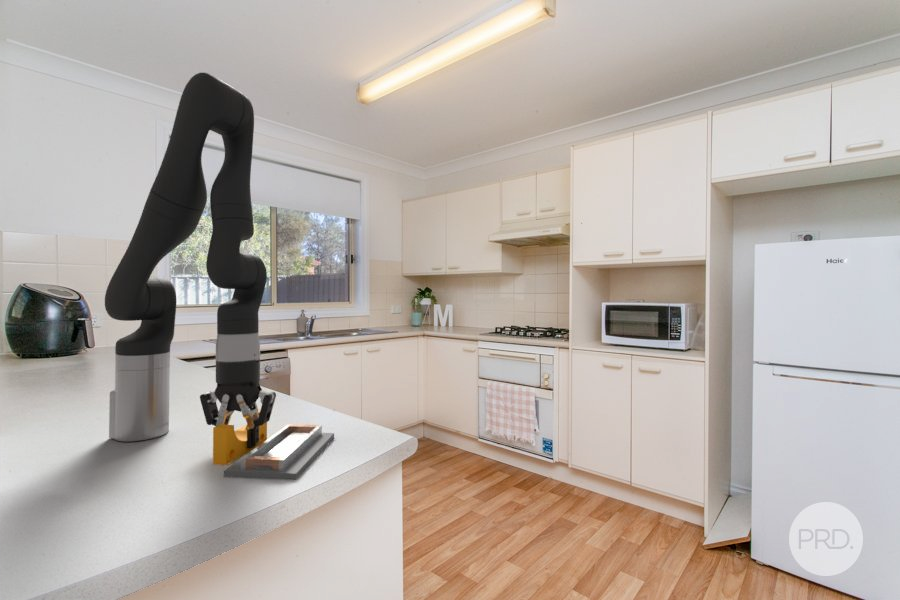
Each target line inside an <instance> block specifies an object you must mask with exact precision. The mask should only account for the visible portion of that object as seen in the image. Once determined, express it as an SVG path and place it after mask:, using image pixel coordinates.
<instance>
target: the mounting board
mask: <svg viewBox="0 0 900 600" xmlns="http://www.w3.org/2000/svg"><path fill="white" fill-rule="evenodd" d="M273 435H274V434H273ZM273 435H271V436H273ZM288 436H289V435H288ZM288 436H287V437H288ZM269 438H270V437H269ZM269 438H268V437H267V439H269ZM334 439H335V432H322V434H321V435H320V436H319V437H318V438H317V439H316V440H315V441H314V442H313V443H312V444H311V445H310V446H309V447H308V448H307V449H306V450H305V451H304V452H303V453H302V454H301V455H300V456H298V457H297V458H296V459H295V460H294V461H293V462H292V463H291V464H290V465H289V466H288V467H287V468H286V469H285V470H284V471H270V470H242V469H241V458H238V459H237V461H234V463H232V464H231V465H230V466H228V467H227V468H226V469H223V478H239V479H240V478H241V479H243V478H244V479H265V480H266V479H267V480H269V479H270V480H293V481H294V480H295V481H296V480H297V479H298V478H299V477H300V476H301V474H303V472H305V471H306V469H308V467H309V466H310V465H311V464H312V463H313V461H314V460H315V459H316V458H317V457H318V456H320V454H321V453H322V452H323V451H324V449H326V447H327V446H328V445H329V444H330V443H331V442H332V441H333V440H334ZM283 440H284V439H283ZM283 440H282V441H283ZM261 444H262V443H261ZM278 444H279V443H278ZM278 444H277V445H278ZM257 447H258V446H257ZM273 448H274V447H273ZM273 448H272V449H273ZM250 452H251V451H250ZM268 452H269V451H268ZM268 452H267V453H268ZM247 454H248V453H247ZM247 454H245V455H247ZM264 455H265V454H264ZM264 455H263V456H264Z"/></svg>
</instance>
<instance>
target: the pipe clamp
mask: <svg viewBox="0 0 900 600" xmlns="http://www.w3.org/2000/svg"><path fill="white" fill-rule="evenodd" d="M260 410H261V409H259V408H258V415H259V414H260ZM248 428H249V427H248V425H247V424H246V425H244V426H241V427H239V428H237V429H236V430H235V424H228V425H224V424H220V425H218V426H213V429H212V430H213V431H212V433H213V434H212V436H213V437H212V465H218V466H219V465H220V466H228V465H229V464H231V463H233V462H236V460H239V459H241V458H242V457H244V456H245V455H246V454H248V453H249V452H250V451H252V450H253V449H255V448H256V447H257V446H259V445H260V444H261V443H263V442H264V441H266V440H267V439H268V422H266V423H264V424H263V425H261V426H259V441H258V443H257V444H256V446H254V447H253V448H247V429H248Z"/></svg>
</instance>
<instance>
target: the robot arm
mask: <svg viewBox="0 0 900 600" xmlns="http://www.w3.org/2000/svg"><path fill="white" fill-rule="evenodd" d="M177 106H178V107H177V110H176V114H175V117H174V122H173V125H172V129H171V134H170V136H169V141H168V144H167V147H166V151H165V152H164V155H163V159H162V161H161V164H160V167H159V169H158V171H157V174H156V176H155V179H154V182H153V184H152V186H151V188H150V190H149V192H148V196H147V199H146V201H145V204H144V206H143V210H142V212H141V215H140V218H139V220H138V223H137V226H136V228H135V231H134V233H133V236H132V238H131V239H130V242H129V245H128V246H127V248H126V250H125V253H123V256H122V257H121V260H120V262H119V263H118V265H117V266H116V269H115V271H114V273H113V275H112V276H111V278H110V280H109V283H108V285H107V287H106V290H105V295H104V309H105V311H106V313H107V314H108V316H109V317H110V318H112V319H113V320H116V321H125V322H127V321H128V322H130V321H135V322H136V321H141V323H140V326H139V327H138V328H137V329H136V330H134V331H133V332H132V333H130V334H128V335H125V336H123V337H121V338H119V339H118V340H117V341H116V343H115V349H114V350H115V355H114V356H115V359H114V389H113V390H111V391H110V392H109V407H108V409H109V412H108V414H109V415H108V416H109V418H108V420H109V421H108V423H109V424H108V438H109V439H113V440H115V441H118V442H140V441H145V440H151V439H155V438H159V437H162V436H163V435H166V434H167V433H168V432H169V431H170V382H171V381H170V379H171V378H170V377H171V376H170V374H171V345H172V341H173V340H174V336H175V329H176V328H175V326H176V316H177V315H176V313H177V293H176V289H175V285H174V284H173V283H172V282H171V280H169V279H168V278H165V277H162V276H161V277H160V276H152V273H153V272H154V270H155V268H156V267H157V265H158V264H159V263H160V261H162V260H163V258H165V257H166V256H167V255H169V253H171V252H172V251H173V250H175V249H176V248H177V247H179V246H180V245H181V244H182V243H184V242H185V241H186V240H187V239H189V238H190V236H191V235H192V234H194V232H195V231H196V229H197V226H199V223H200V221H201V219H202V218H201V217H202V216H203V213H204V211H205V208H206V205H207V203H208V193H207V192H208V189H207V185H206V181H205V174H204V171H203V165H202V154H203V150H204V146H205V143H206V139H207V137H208V135H209V132H210V131H212V132H213V133H216V134H218V135H220V136H221V138H222V142H223V147H224V158H223V163H222V166H221V167H220V170H219V172H218V173H217V175H216V177H215V178H214V181H213V183H212V184H211V185H212V186H211V189H210V194H209V195H210V196H209V203H210V204H209V205H210V216H211V217H210V218H211V223H212V224H211V226H212V233H211V236H210V241H209V245H208V246H209V247H208V251H207V257H206V264H205V266H206V273H207V276H208V278H209V280H210V281H211V283H212V284H213V285H214V286H216V287H217V288H219V289H223V290H224V289H226V290H233V294H232V297H231V300H229V301H227V302H223V303H221V304H220V305H219V306H218V307H217V312H216V313H217V314H216V320H217V322H216V323H217V326H216V333H217V334H216V342H215V383H216V388H215V389H214V391H207V392H204V393H202V394H200V396H199V399H200V404H201V407H202V408H201V409H202V411H203V415H204V418H205V419H204V420H205V421H206V424H207V425H208V426H211V425H212V426H213V427H216V426H218V425H220V424H224V425H230V422H231V419H232V415H233V413H234V412H238V413H239V412H240V413H241V415H242V417H243V419H245V421H246V425H248V427H249V428H248V429H247V448H253V447H254V446H256V444H257V443H258V441H259V426H261V425H263V424H264V423H266V422H267V423H268V422H270V420H271V415H272V412H273V408H274V404H275V400H276V397H277V393H276V392H275V391H271V392H268V391H264V390H263V389H262V387H261V385H260V380H261V342H260V336H259V335H260V334H259V325H260V324H259V310H260V307H261V304H262V301H263V295H264V294H265V293H264V292H265V289H266V285H267V279H268V275H267V268H266V265H265V262H264V261H263V259H261V257H259V256H258V255H255V254H252V253H248V252H247V253H246V252H241V251H240V249H241V244H242V242H245V241H249V240H250V239H251V238H252V237H253V236H254V231H255V225H254V217H253V208H252V207H253V204H252V197H251V196H252V195H251V173H252V172H251V171H252V160H253V158H252V157H253V148H254V147H253V144H254V132H255V112H254V107H253V104H252V102H251V99H250V98H249V97H248V96H247V95H246V94H244V93H243V92H241V91H239V90H238V89H236V88H235V87H233V86H231V85H230V84H228V83H227V82H225V81H223V80H221V79H220V78H218V77H216V76H214V75H213V74H210V73H208V72H199V73H196V74H194V75H193V76H191V77H190V79H189V80H188V82H187V83H186V84H185V87H184V89H183V91H182V93H181V96H180V99H179V102H178V105H177ZM259 398H260V403H261V406H260V407H261V408H260V409H259V407H258V405H257V404H258V403H257V401H258V400H259ZM217 400H218V401H219V403H220V407H219V408H218V406H217ZM258 409H259V410H260V414H259V415H258Z"/></svg>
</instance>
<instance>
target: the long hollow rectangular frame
mask: <svg viewBox="0 0 900 600" xmlns="http://www.w3.org/2000/svg"><path fill="white" fill-rule="evenodd" d="M322 428H323V425H321V424H319V425H318V424H316V425H315V424H292V423H291V424H286V425H285V426H284V427H283V428H281V429H279V430H278V431H276V432H275V433H273V436H272V435H271V436H270V437H269V439H268V438H267V440H266V441H264V442H263V443H262V444H260V445H259V446H258V447H256V448H255V449H253V450H252V451H251V452H248V453H247V455H246V454H245V455H243V456H241V457H240V459H241V469H242V470H270V471H284V470H285V469H286V468H287V467H288V466H289V465H290V464H291V463H292V462H293V461H294V460H295V459H296V458H297V457H298V456H300V455H301V454H302V453H303V452H304V451H305V450H306V449H307V448H308V447H309V446H310V445H311V444H312V443H313V442H314V441H315V440H316V439H317V438H318V437H319V436H320V435H321V434H322V433H323V429H322ZM288 435H289V436H288ZM287 436H288V437H287ZM283 439H284V440H283ZM282 440H283V441H282ZM278 443H279V444H278ZM277 444H278V445H277ZM273 447H274V448H273ZM272 448H273V449H272ZM268 451H269V452H268ZM267 452H268V453H267ZM264 454H265V455H264ZM263 455H264V456H263Z"/></svg>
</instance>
